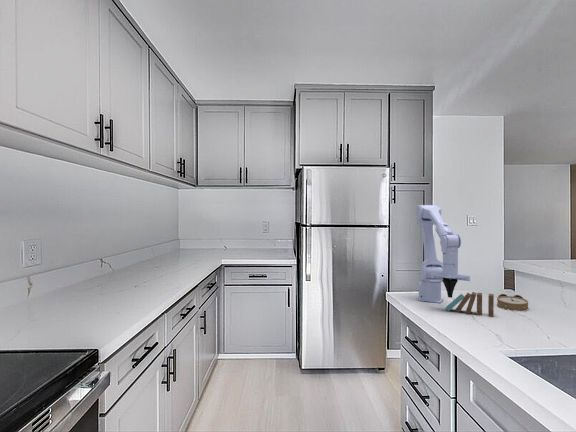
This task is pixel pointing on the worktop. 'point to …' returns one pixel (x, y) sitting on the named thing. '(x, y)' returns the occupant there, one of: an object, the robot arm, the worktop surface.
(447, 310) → the teal domino
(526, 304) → the alarm clock
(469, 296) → the domino
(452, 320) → the worktop surface
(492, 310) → the domino
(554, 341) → the worktop surface
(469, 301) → the domino
